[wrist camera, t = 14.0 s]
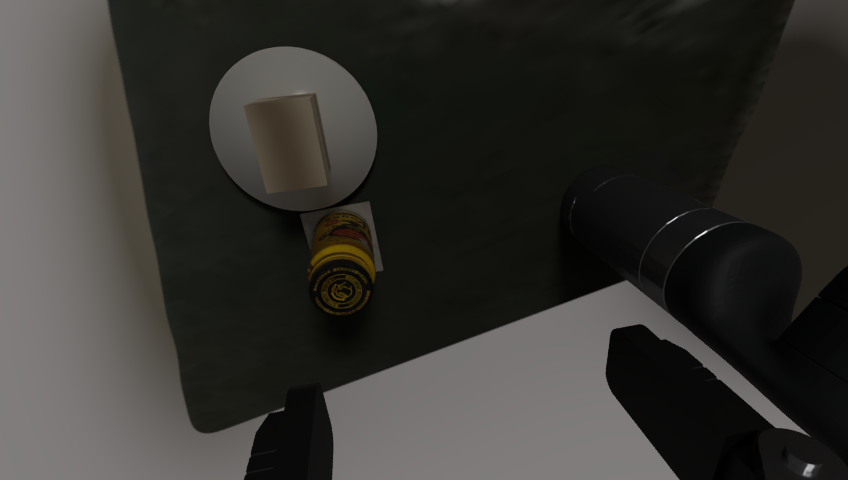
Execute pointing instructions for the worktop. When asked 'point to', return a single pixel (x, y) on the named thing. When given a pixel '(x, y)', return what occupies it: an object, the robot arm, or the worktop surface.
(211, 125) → the dish
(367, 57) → the worktop surface
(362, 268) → the condiment
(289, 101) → the block
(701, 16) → the worktop surface
